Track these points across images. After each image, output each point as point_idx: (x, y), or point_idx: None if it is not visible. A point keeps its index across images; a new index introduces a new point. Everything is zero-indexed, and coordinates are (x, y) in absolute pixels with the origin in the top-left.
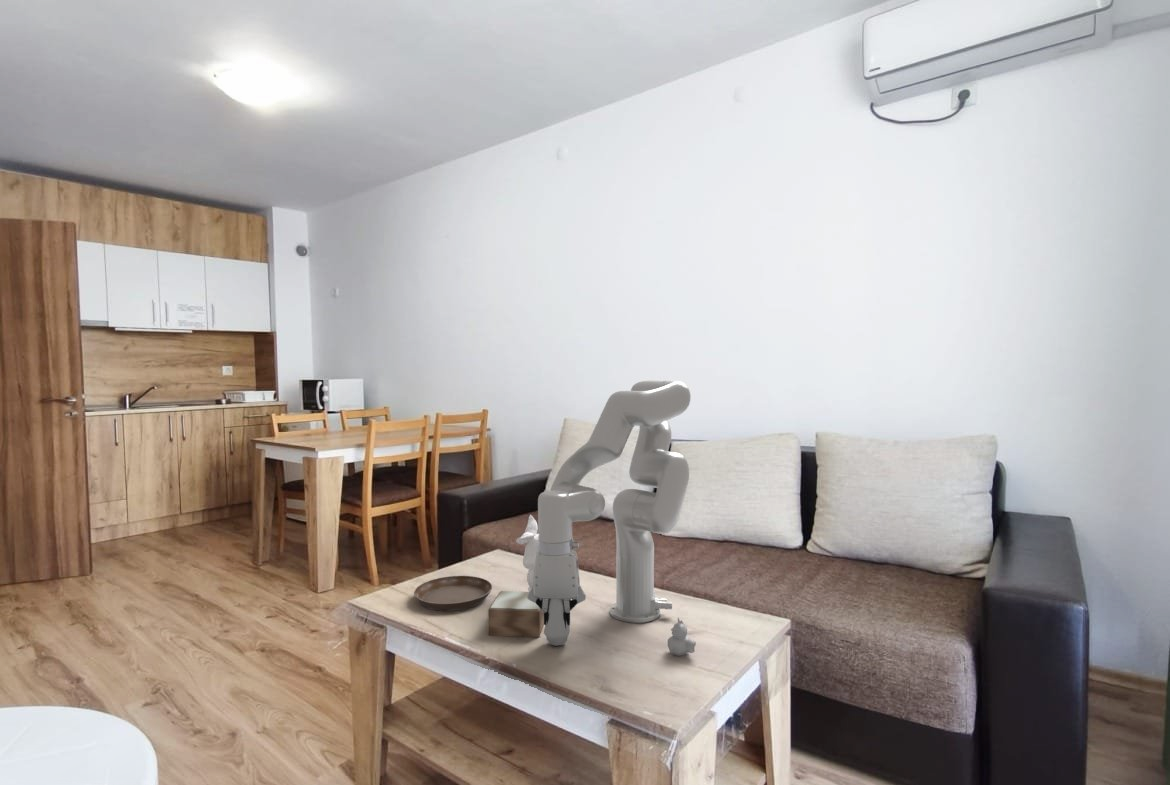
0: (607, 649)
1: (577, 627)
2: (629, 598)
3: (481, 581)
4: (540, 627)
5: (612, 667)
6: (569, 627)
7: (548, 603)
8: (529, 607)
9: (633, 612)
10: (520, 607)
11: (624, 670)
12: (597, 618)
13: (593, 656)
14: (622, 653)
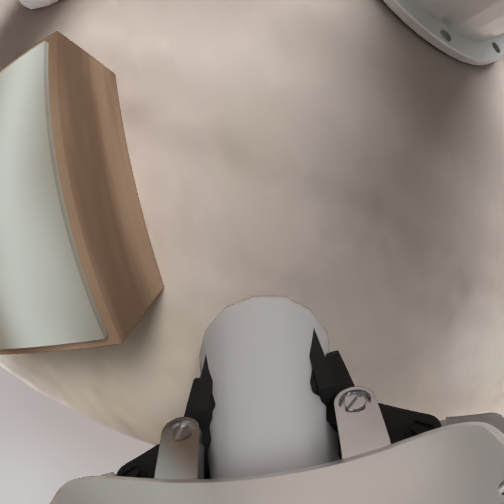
0: (442, 296)
1: (292, 127)
2: (499, 13)
3: None
4: (145, 268)
5: (447, 384)
6: (328, 343)
7: (201, 455)
8: (51, 323)
9: (477, 35)
10: (21, 331)
11: (468, 381)
12: (341, 22)
13: (405, 357)
14: (476, 304)
